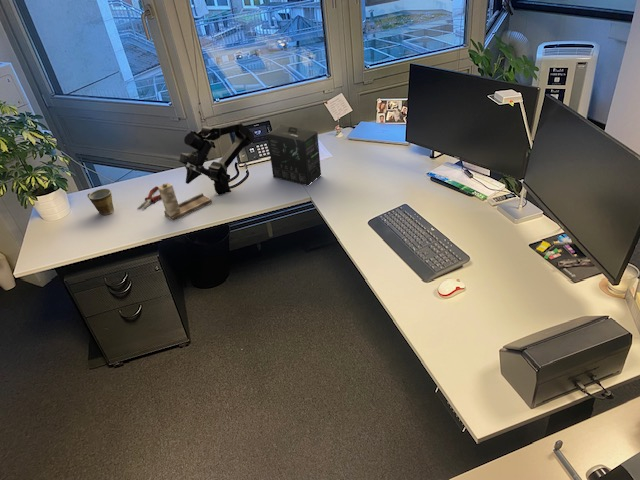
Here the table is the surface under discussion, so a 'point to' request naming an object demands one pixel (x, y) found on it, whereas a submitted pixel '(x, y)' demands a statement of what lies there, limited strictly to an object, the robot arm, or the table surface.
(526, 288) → the table surface
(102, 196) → the ceramic cup
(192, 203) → the board
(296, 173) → the headset box
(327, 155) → the table surface
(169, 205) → the beige boxy piece
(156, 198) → the pliers
